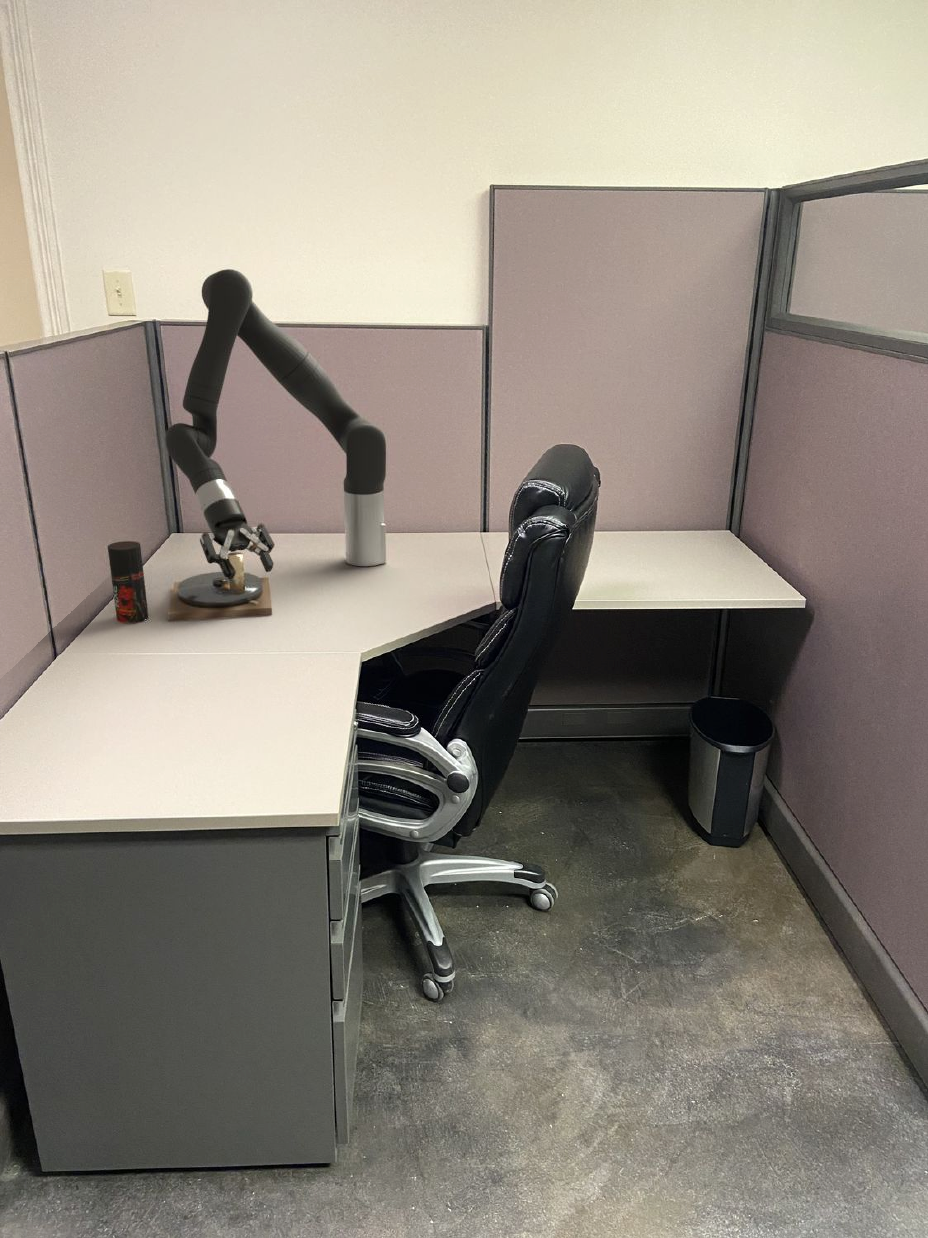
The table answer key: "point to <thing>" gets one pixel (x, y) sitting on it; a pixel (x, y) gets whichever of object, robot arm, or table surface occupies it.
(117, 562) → the deodorant
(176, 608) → the stand base
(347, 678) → the table surface
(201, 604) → the crank turntable
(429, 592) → the table surface
